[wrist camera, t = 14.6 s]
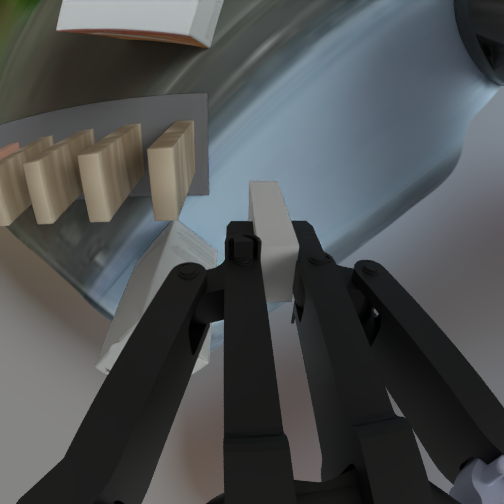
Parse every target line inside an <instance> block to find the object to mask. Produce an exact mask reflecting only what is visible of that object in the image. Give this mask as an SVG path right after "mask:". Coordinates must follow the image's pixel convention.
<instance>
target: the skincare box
mask: <svg viewBox="0 0 504 504" xmlns="http://www.w3.org/2000/svg"><path fill="white" fill-rule="evenodd" d="M217 257H218V251H217V250H216V249H215V248H213V247H212V246H211V245H209V244H208V243H207V242H206V241H204V240H203V239H202V238H200V237H199V236H198V235H196V234H195V233H194V232H193V231H191V230H190V229H189V228H187V227H186V226H185V225H183V224H182V223H181V222H180V221H171V222H170V223H169V225H168V226H167V227H166V228H165V229H164V230H163V231H162V232H161V234H160V235H159V236H158V237H157V238H156V239H155V240H154V242H153V243H152V244H151V245H150V246H149V247H148V249H147V250H146V251H145V252H144V253H143V255H142V256H141V257H140V258H139V260H138V261H137V262H136V265H135V267H134V270H133V272H132V274H131V277H130V279H129V281H128V284H127V286H126V288H125V291H124V293H123V296H122V298H121V300H120V303H119V305H118V308H117V310H116V313H115V315H114V318H113V320H112V323H111V326H110V328H109V331H108V334H107V336H106V339H105V342H104V344H103V347H102V350H101V353H100V355H99V358H98V361H97V364H96V367H95V368H97V369H98V370H100V371H102V372H103V373H105V374H107V375H108V374H109V372H110V370H111V368H112V367H113V365H114V363H115V361H116V360H117V358H118V356H119V355H120V353H121V351H122V349H123V348H124V346H125V344H126V343H127V341H128V339H129V337H130V336H131V334H132V332H133V331H134V329H135V327H136V326H137V324H138V322H139V321H140V319H141V317H142V316H143V314H144V313H145V311H146V309H147V308H148V306H149V304H150V303H151V301H152V300H153V298H154V296H155V295H156V293H157V292H158V290H159V288H160V287H161V285H162V284H163V282H164V280H165V279H166V277H167V276H168V274H169V273H170V271H171V270H172V269H173V268H174V267H175V266H177V265H179V264H181V263H185V262H195V263H199V264H201V265H202V266H204V267H205V269H206V270H208V269H212V268H215V267H217ZM211 327H212V323H210V328H209V330H208V333H207V336H206V338H205V341H204V343H203V346H202V348H201V351H200V353H199V356H198V359H197V361H196V364H195V366H194V369H193V372H192V374H193V373H195V372H196V371H198V370H199V369H201V368H202V367H204V366H205V365H207V364H208V363H209V355H210V340H211ZM192 374H191V375H192Z"/></svg>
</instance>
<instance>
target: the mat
mask: <svg viewBox="0 0 504 504" xmlns="http://www.w3.org/2000/svg"><path fill="white" fill-rule="evenodd" d="M184 120H194V144H195V174H194V176H193V179H192V182H191V184H190V187H189V190H188V193H187V195H209V168H208V93H185V94H168V95H155V96H144V97H135V98H126V99H118V100H111V101H104V102H98V103H91V104H86V105H80V106H75V107H69V108H64V109H60V110H55V111H50V112H46V113H42V114H38V115H34V116H30V117H26V118H22V119H18V120H15V121H11V122H8V123H4V124H1V125H0V149H1V148H3V147H5V146H7V145H9V144H12V143H17V142H19V148H22V147H24V146H26V145H28V144H29V143H31V142H33V141H35V140H37V139H39V138H41V137H45V136H50V135H53V140H54V144H56V143H58V142H60V141H61V140H63V139H65V138H67V137H69V136H70V135H72V134H74V133H76V132H78V131H80V130H87V129H94V137H95V143H97V142H98V141H100V140H101V139H103V138H105V137H106V136H108V135H109V134H111V133H112V132H114V131H116V130H117V129H119V128H121V127H122V126H124V125H128V124H138V123H141V131H142V144H143V156H144V167H145V174H144V175H143V176H142V178H141V179H140V180H139V182H138V183H137V184H136V186H135V187H134V188H133V190H132V191H131V192H130V194H129V195H128V196H127V197H141V196H152V194H151V185H150V175H149V164H148V153H147V149H148V148H149V147H150V146H151V145H152V144H153V143H154V142H155V141H156V140H157V139H158V138H159V137H160V136H161V135H162V134H163V133H164V132H165V131H166V130H167V129H168V128H169V127H170V126H172V125H173V124H174V123H175V122H176V121H184ZM81 199H85V196H84V192H83V193H82V194H81V195H80V196H79V197H78V198H77V199H76V200H81Z"/></svg>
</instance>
